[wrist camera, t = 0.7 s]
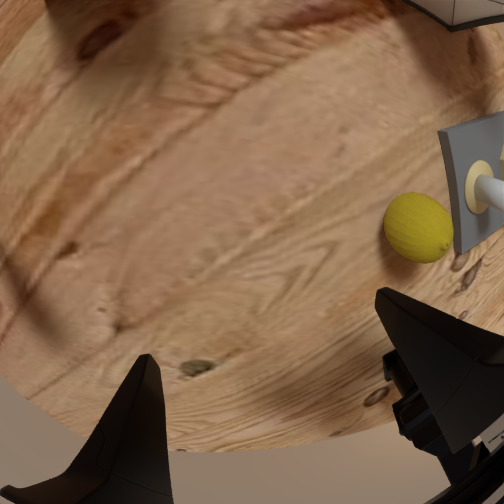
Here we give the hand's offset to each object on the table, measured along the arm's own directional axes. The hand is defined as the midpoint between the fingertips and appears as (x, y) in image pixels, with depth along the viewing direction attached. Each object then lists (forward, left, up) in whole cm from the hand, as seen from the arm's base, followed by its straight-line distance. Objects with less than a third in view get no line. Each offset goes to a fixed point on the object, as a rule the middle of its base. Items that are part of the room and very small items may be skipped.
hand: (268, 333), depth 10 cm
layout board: (-6, -31, -14) cm, 34 cm away
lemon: (-5, -13, -14) cm, 20 cm away
